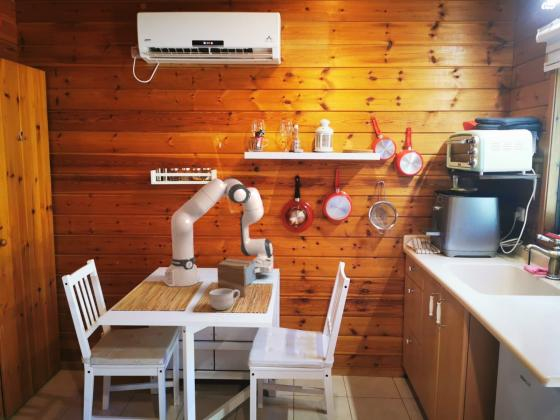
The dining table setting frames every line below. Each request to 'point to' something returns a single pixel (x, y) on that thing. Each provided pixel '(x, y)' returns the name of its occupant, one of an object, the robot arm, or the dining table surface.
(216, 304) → the teacup
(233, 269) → the dark brown box
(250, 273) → the case
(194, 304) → the dining table surface
